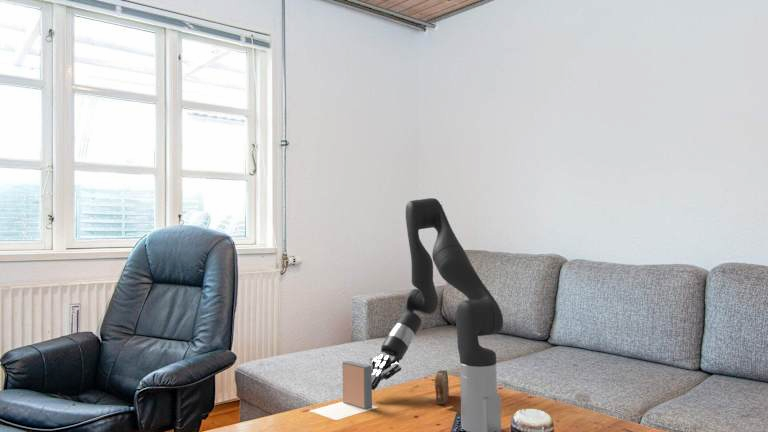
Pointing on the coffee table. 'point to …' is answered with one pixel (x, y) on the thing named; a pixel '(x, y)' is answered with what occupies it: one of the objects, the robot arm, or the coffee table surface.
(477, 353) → the robot arm
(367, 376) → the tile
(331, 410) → the mat
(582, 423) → the coffee table surface
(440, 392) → the tin
